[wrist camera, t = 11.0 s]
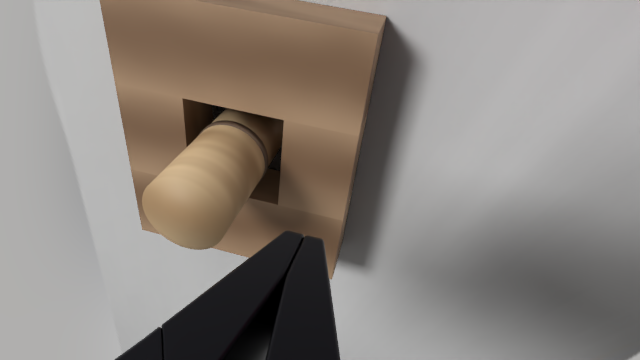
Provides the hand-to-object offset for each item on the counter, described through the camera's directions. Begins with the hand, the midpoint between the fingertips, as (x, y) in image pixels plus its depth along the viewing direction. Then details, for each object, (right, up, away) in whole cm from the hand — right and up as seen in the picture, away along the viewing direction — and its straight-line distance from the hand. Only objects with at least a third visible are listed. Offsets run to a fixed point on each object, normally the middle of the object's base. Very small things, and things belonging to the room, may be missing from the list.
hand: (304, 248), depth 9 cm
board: (-3, +4, +14) cm, 15 cm away
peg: (-3, +4, +14) cm, 15 cm away
